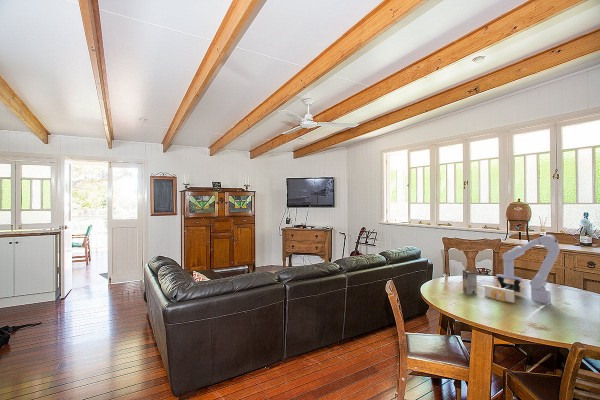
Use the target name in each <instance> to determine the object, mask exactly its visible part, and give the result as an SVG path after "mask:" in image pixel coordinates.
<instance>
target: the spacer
mask: <svg viewBox="0 0 600 400" xmlns="http://www.w3.org/2000/svg"><path fill="white" fill-rule="evenodd" d="M495 293H496V294H500V295H501V300H499V299H495ZM492 299H493V300H495V301H496V300H497V301H502V302H506V301H505V292H501V291H499V290H497V291H496V290H491V300H492Z"/></svg>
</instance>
